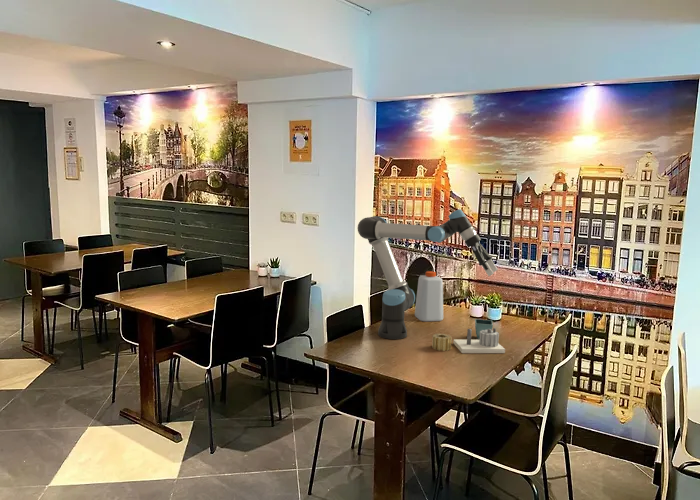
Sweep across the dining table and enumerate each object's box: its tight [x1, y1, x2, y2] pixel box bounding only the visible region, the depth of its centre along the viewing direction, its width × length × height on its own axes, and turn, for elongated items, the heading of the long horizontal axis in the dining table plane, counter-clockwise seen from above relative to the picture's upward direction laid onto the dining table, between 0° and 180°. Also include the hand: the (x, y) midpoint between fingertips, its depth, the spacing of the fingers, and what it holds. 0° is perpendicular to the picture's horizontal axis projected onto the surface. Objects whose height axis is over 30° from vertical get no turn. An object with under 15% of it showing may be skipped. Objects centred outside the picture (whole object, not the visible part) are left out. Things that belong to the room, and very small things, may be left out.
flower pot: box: [474, 318, 494, 340], centre depth 273 cm, size 9×9×9 cm
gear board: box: [453, 327, 506, 354], centre depth 257 cm, size 21×15×10 cm
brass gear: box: [431, 333, 452, 352], centre depth 255 cm, size 9×9×6 cm
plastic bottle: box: [414, 270, 444, 322], centre depth 309 cm, size 15×15×28 cm
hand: (493, 273), depth 263 cm, fingers open, 13 cm apart
